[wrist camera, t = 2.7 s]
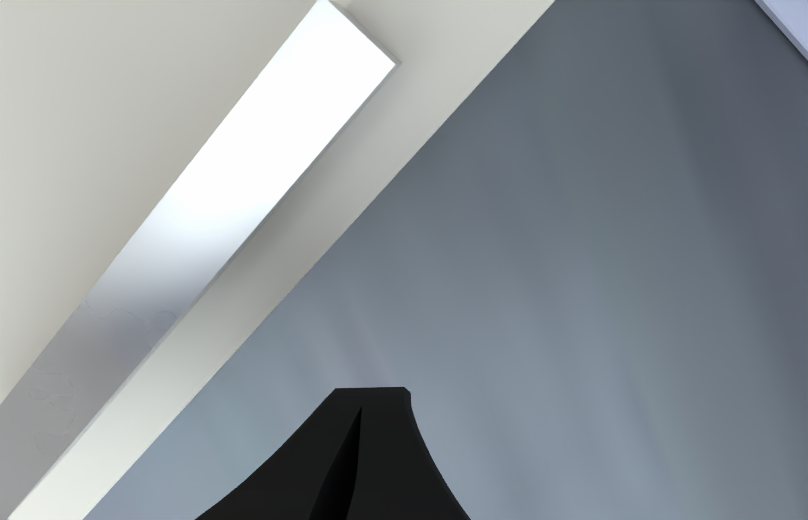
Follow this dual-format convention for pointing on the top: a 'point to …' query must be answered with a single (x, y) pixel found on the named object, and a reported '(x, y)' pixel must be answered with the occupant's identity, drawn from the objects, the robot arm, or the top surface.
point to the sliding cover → (188, 195)
